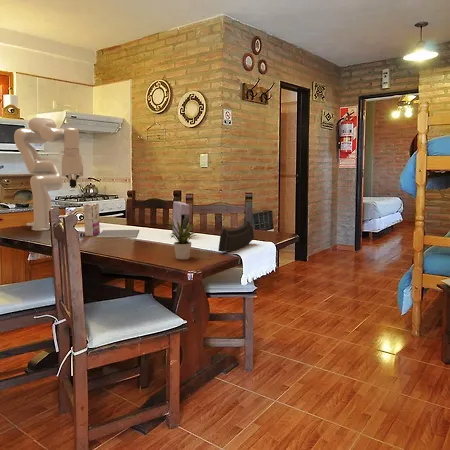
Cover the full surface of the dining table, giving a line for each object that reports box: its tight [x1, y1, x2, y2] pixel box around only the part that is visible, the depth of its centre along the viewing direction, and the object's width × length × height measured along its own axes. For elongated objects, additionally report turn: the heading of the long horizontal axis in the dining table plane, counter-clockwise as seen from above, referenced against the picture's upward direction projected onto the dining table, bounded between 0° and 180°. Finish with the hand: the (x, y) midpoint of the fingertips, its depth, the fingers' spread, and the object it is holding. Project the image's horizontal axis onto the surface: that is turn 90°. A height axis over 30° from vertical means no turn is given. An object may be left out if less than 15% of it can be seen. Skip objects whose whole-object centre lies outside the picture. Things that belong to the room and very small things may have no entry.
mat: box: [96, 229, 140, 239], centre depth 240 cm, size 20×24×1 cm
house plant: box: [167, 219, 200, 260], centre depth 178 cm, size 14×14×16 cm
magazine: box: [218, 220, 255, 253], centre depth 200 cm, size 17×3×30 cm
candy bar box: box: [83, 202, 101, 237], centre depth 238 cm, size 11×5×16 cm, turn 179°
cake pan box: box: [171, 201, 190, 239], centre depth 235 cm, size 19×5×18 cm, turn 20°
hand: (73, 187), depth 234 cm, fingers closed
